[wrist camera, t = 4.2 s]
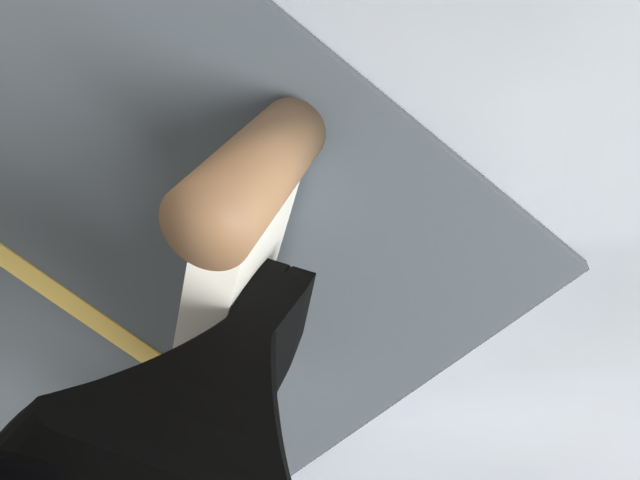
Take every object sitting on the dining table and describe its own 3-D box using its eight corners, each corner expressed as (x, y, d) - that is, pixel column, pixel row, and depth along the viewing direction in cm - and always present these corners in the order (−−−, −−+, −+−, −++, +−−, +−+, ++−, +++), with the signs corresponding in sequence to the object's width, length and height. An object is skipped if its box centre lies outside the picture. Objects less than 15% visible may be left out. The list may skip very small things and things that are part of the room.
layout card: (585, 260, 13) (589, 270, 12) (184, 544, 26) (180, 553, 25) (35, -196, 11) (19, -200, 10) (-98, 364, 24) (-107, 371, 23)
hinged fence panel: (243, 400, 18) (176, 537, 14) (201, 382, 18) (122, 513, 14) (334, 111, 12) (261, 206, 8) (268, 87, 12) (164, 167, 8)
